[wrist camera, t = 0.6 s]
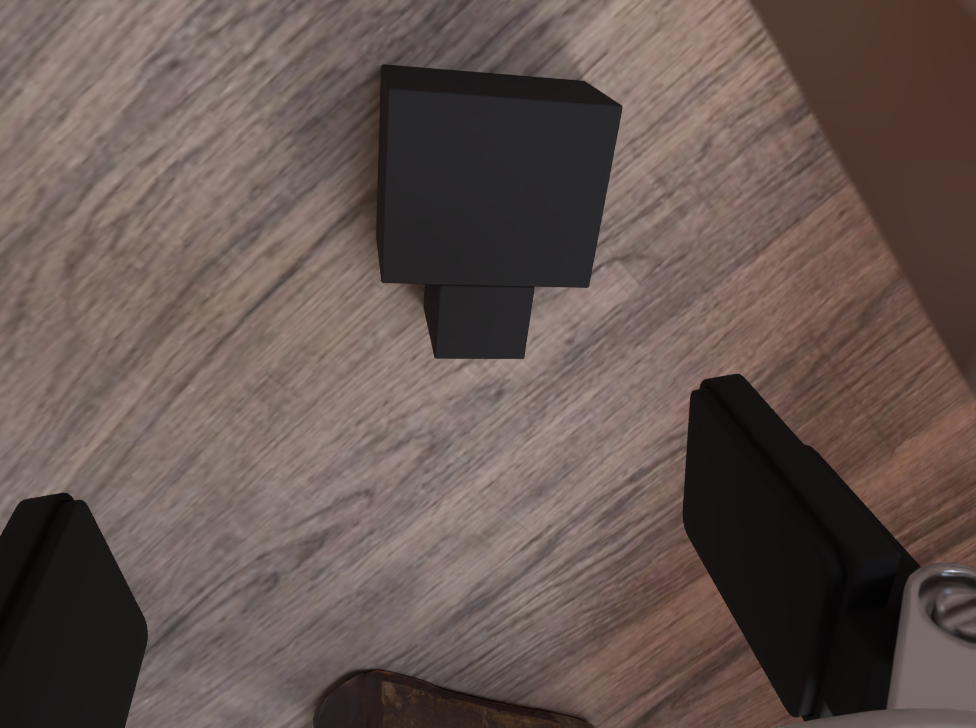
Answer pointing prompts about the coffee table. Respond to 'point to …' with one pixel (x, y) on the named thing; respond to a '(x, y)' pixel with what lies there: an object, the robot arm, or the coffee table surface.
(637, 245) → the coffee table surface
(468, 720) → the book
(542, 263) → the pad
